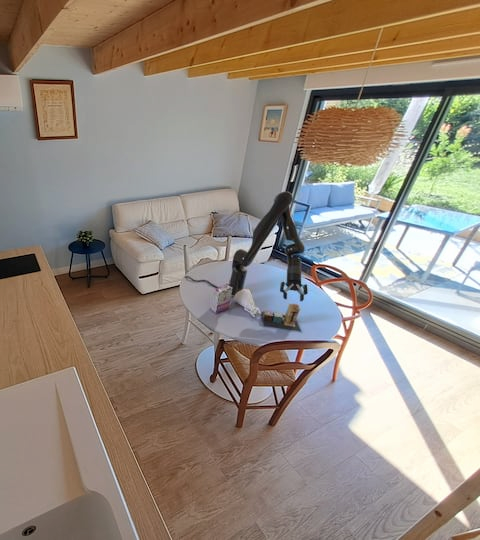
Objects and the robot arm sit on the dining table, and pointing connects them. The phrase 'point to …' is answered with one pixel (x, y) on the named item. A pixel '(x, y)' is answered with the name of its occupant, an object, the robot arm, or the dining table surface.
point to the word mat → (282, 324)
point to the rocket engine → (246, 301)
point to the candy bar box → (221, 298)
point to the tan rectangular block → (292, 313)
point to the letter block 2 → (277, 317)
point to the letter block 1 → (267, 316)
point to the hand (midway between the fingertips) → (293, 300)
